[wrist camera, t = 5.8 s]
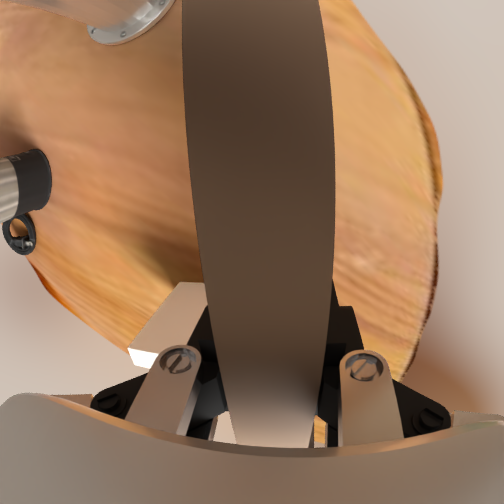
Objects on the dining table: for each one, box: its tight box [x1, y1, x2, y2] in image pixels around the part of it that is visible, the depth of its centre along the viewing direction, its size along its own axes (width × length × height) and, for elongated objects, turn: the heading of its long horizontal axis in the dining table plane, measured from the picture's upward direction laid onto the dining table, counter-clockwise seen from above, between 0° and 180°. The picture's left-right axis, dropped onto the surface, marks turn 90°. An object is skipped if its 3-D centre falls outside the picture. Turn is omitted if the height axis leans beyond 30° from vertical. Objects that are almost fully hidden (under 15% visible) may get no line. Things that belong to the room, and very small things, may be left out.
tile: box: [128, 282, 208, 368], centre depth 25 cm, size 2×8×12 cm, turn 93°
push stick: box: [182, 0, 335, 448], centre depth 9 cm, size 19×4×5 cm, turn 4°
